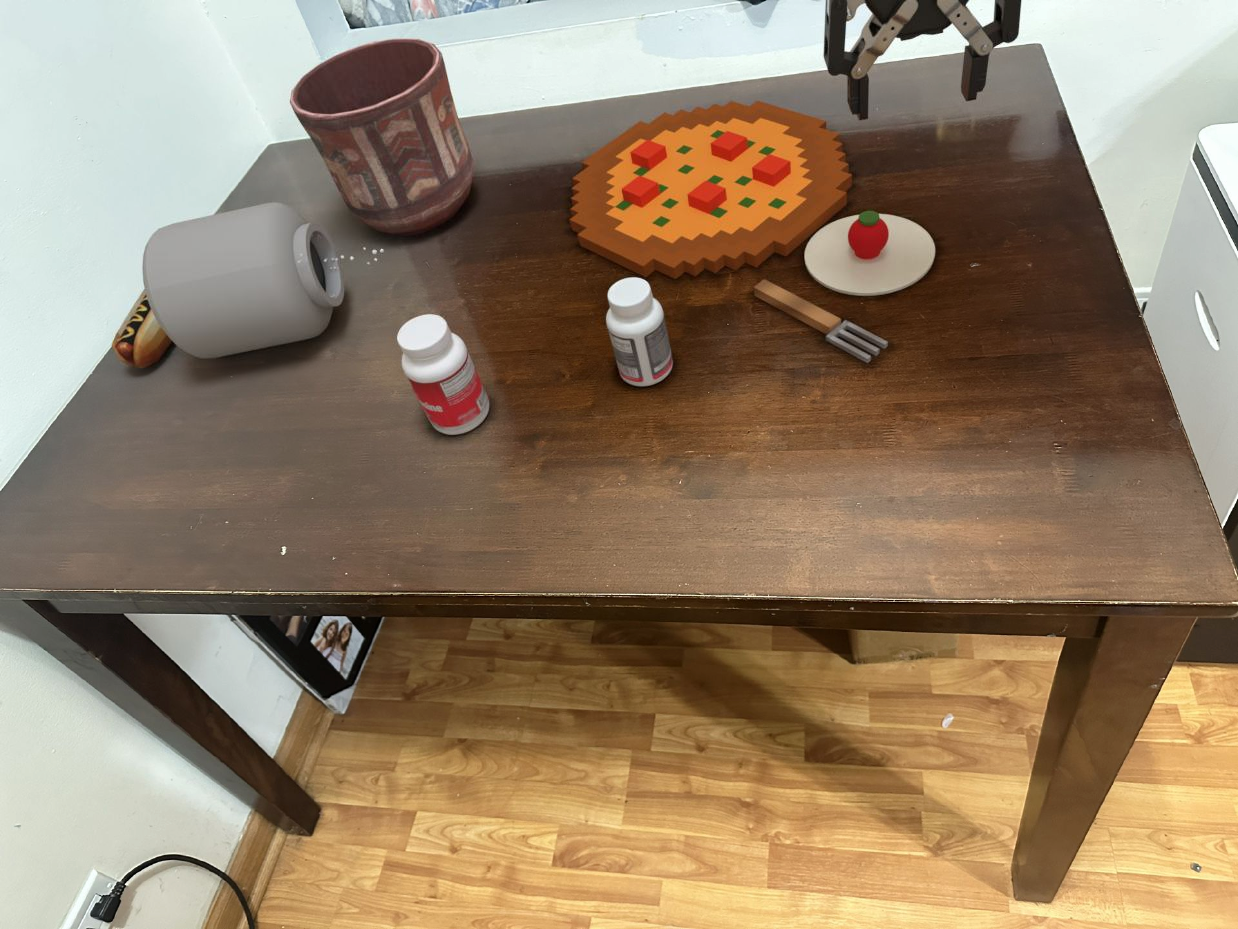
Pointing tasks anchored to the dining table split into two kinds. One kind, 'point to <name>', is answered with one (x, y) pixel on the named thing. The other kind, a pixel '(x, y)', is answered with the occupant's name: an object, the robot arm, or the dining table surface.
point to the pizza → (710, 189)
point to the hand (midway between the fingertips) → (914, 105)
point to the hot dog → (140, 336)
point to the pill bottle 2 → (638, 333)
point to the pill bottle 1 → (442, 375)
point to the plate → (867, 277)
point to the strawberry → (868, 235)
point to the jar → (242, 280)
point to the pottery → (388, 134)
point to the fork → (820, 320)
